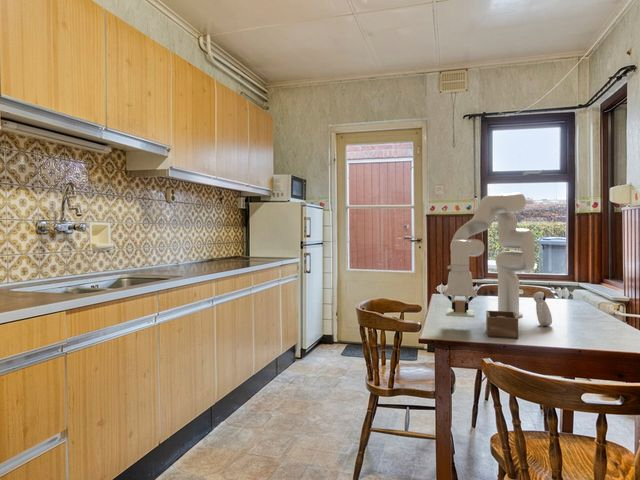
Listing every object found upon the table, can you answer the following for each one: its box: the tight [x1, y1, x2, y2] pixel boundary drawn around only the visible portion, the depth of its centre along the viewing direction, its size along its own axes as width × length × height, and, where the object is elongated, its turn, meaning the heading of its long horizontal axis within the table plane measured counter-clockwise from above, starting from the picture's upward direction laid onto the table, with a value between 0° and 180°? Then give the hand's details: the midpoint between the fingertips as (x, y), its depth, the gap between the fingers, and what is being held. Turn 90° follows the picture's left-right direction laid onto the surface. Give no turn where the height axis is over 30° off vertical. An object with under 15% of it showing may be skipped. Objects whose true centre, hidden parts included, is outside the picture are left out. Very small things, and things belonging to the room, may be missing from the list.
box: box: [485, 310, 519, 340], centre depth 175 cm, size 14×11×8 cm
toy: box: [533, 291, 553, 327], centre depth 188 cm, size 11×7×15 cm, turn 168°
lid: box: [445, 298, 475, 318], centre depth 183 cm, size 14×11×6 cm
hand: (460, 311), depth 183 cm, fingers closed on lid, 4 cm apart
